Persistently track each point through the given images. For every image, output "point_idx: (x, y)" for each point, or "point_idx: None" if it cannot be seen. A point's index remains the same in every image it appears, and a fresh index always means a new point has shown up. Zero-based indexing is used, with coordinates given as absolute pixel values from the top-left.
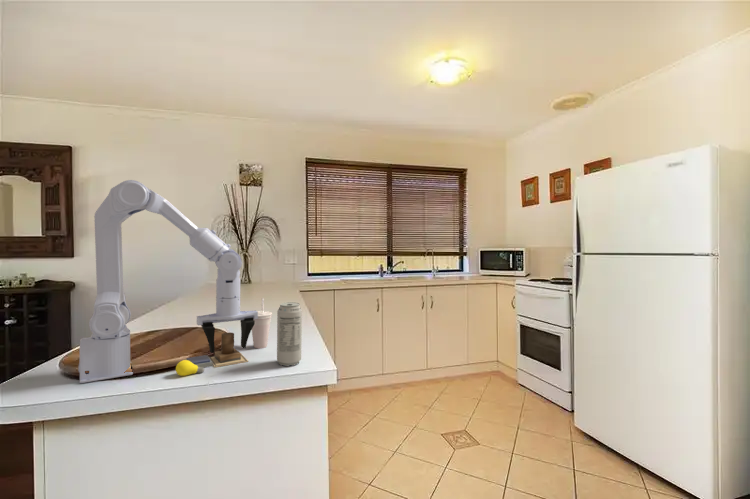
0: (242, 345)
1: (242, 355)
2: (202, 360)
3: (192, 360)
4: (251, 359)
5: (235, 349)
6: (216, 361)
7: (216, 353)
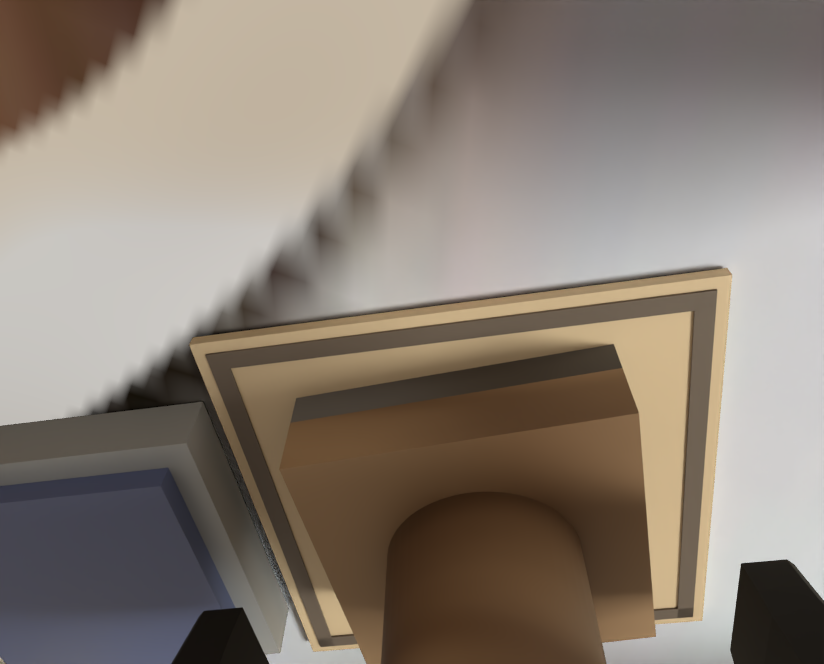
0: (747, 659)
1: (709, 437)
2: (150, 645)
3: (17, 611)
4: (766, 559)
5: (635, 471)
6: None
7: (311, 532)
